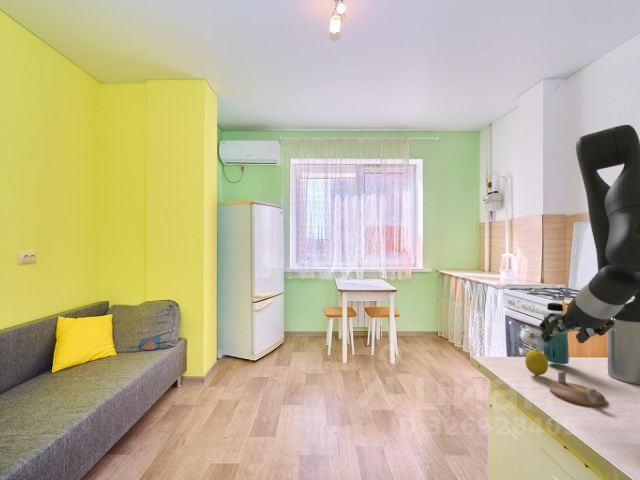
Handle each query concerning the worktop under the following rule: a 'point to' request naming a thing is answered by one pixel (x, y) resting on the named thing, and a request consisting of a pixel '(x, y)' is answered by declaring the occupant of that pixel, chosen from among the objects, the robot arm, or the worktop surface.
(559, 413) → the worktop surface
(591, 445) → the worktop surface
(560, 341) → the beverage bottle
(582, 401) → the pin dish
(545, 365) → the lemon
